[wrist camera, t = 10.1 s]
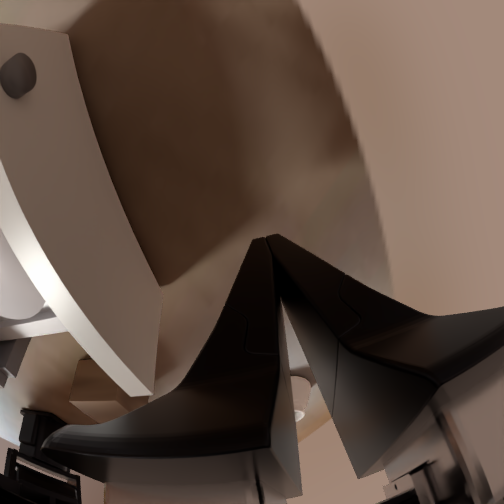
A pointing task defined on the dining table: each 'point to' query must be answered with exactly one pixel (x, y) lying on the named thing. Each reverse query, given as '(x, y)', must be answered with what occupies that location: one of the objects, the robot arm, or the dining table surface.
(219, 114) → the dining table surface
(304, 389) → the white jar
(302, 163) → the dining table surface
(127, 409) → the brown cube
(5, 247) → the disc
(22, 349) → the housing
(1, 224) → the white drawer
